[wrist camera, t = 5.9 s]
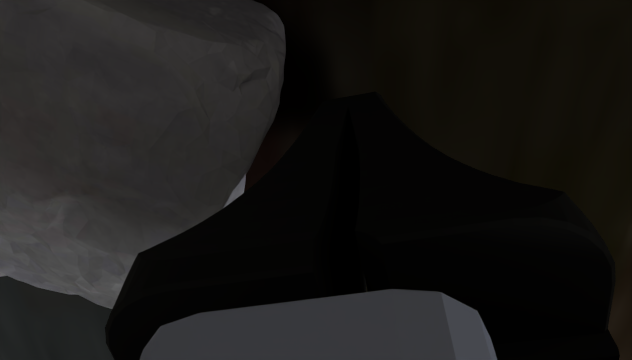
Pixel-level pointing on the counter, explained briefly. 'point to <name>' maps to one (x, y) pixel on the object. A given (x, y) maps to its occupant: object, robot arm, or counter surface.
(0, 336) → the counter surface
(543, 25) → the counter surface
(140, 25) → the stone block
